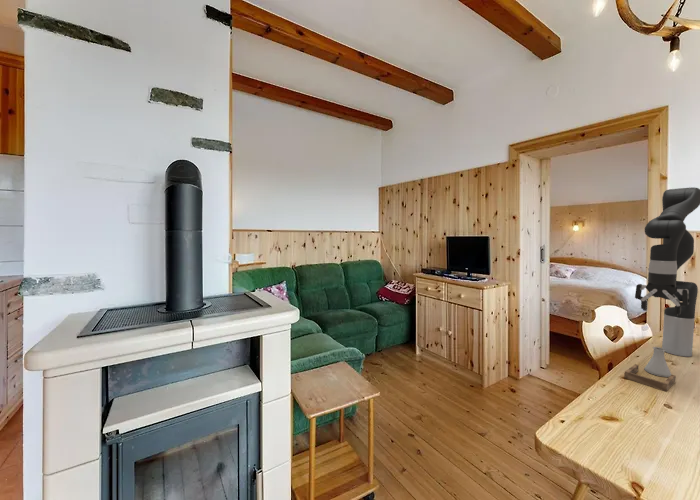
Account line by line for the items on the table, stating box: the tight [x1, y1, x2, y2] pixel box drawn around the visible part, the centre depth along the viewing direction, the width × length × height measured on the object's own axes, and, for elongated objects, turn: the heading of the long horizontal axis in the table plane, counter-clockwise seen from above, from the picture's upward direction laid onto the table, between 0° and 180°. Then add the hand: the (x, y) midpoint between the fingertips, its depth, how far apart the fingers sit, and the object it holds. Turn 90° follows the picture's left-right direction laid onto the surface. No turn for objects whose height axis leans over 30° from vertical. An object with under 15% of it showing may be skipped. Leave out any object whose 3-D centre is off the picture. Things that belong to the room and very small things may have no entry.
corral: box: [623, 363, 676, 392], centre depth 108 cm, size 12×11×2 cm
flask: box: [643, 346, 672, 378], centre depth 114 cm, size 7×7×10 cm
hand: (660, 312), depth 113 cm, fingers open, 8 cm apart
